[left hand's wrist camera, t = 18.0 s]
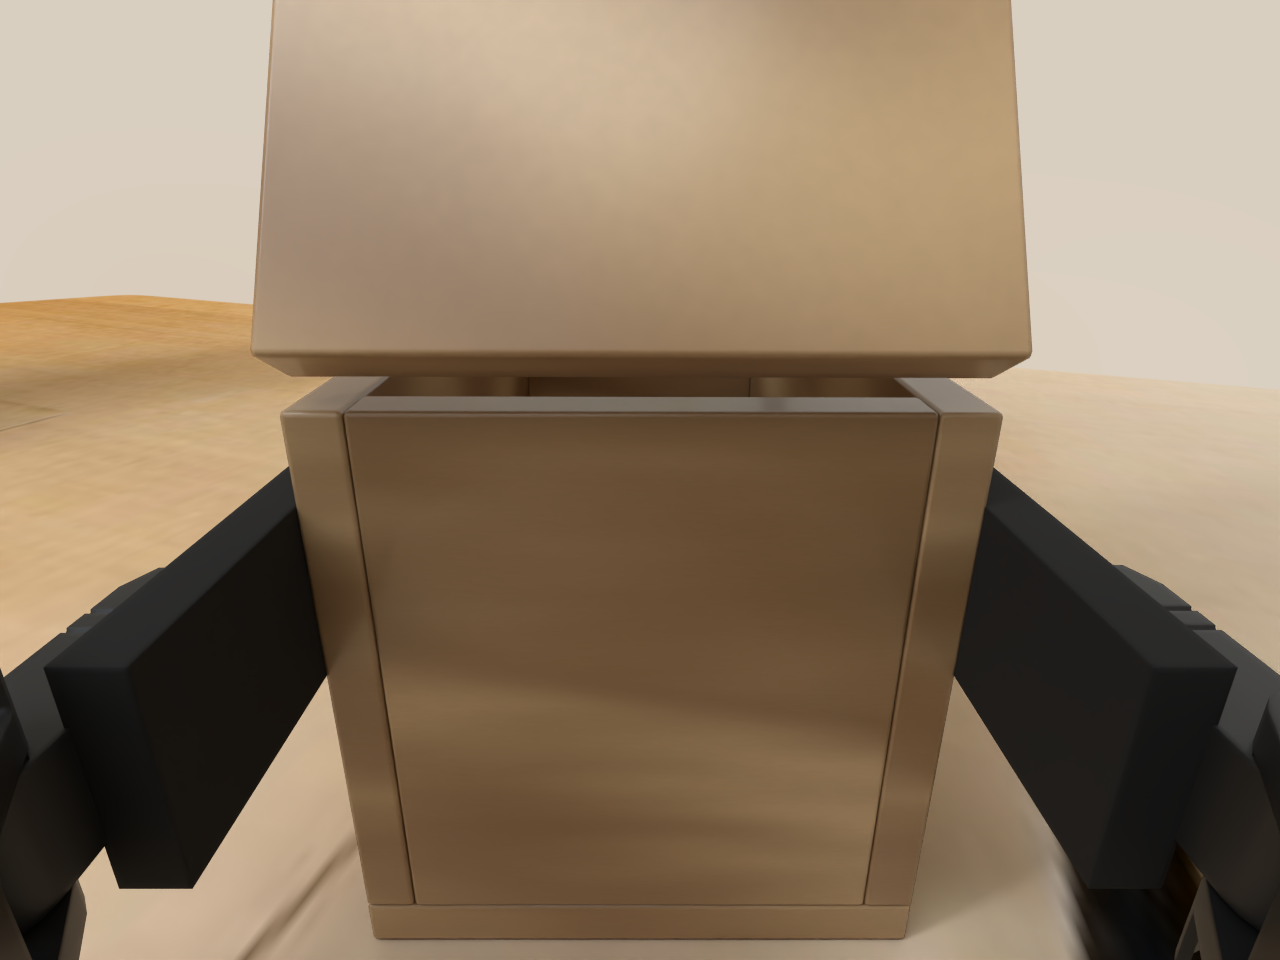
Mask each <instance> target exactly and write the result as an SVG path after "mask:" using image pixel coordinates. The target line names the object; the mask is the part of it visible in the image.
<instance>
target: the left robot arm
mask: <svg viewBox="0 0 1280 960" xmlns="http://www.w3.org/2000/svg"><path fill="white" fill-rule="evenodd" d="M326 676H327V673H326V667H325V662H324V656H323V651H322V645H321V640H320V634H319V629H318V623H317V618H316V612H315V607H314V601H313V596H312V590H311V585H310V579H309V573H308V568H307V562H306V557H305V551H304V546H303V540H302V535H301V529H300V524H299V518H298V513H297V507H296V502H295V496H294V491H293V485H292V480H291V474H290V469H289V467H287V468H286V469H285V470H284V471H282V472H281V473H280V474H279V475H278V476H276V477H275V478H274V479H273V480H271V481H270V482H269V483H268V484H267V485H265V486H264V487H263V488H262V489H260V490H259V491H258V492H257V493H256V494H254V495H253V496H252V497H251V498H249V499H248V500H247V501H246V502H245V503H243V504H242V505H241V506H240V507H238V508H237V509H236V510H235V511H234V512H232V513H231V514H230V515H229V516H227V517H226V518H225V519H224V520H223V521H221V522H220V523H219V524H218V525H216V526H215V527H214V528H213V529H212V530H210V531H209V532H208V533H207V534H205V535H204V536H203V537H202V538H201V539H199V540H198V541H197V542H196V543H195V544H193V545H192V546H191V547H190V548H188V549H187V550H186V551H185V552H184V553H182V554H181V555H180V556H179V557H177V558H176V559H175V560H174V561H173V562H171V563H170V564H169V565H168V566H166V567H165V568H157V569H155V570H153V571H151V572H149V573H147V574H145V575H143V576H141V577H139V578H137V579H135V580H133V581H130V582H128V583H126V584H124V585H122V586H120V587H119V588H117V589H116V590H115V591H113V592H112V593H111V594H110V595H108V596H107V597H106V598H105V599H103V600H102V601H101V602H99V603H98V604H97V605H96V606H94V607H93V608H92V609H91V613H90V614H84V615H83V616H82V617H80V618H79V619H78V620H76V621H75V622H74V623H73V624H71V625H70V626H69V627H68V628H67V632H66V633H60V634H59V635H57V636H56V637H55V638H53V639H52V640H51V641H50V642H48V643H47V644H46V645H45V646H43V647H42V648H41V649H39V650H38V651H37V652H36V653H34V654H33V655H32V656H31V657H29V658H28V659H27V660H25V661H24V662H23V663H22V664H20V665H19V666H18V667H17V668H15V669H14V670H13V671H11V672H10V673H9V674H8V675H6V676H5V677H3V675H2V672H1V669H0V960H79V956H80V950H81V944H82V939H83V933H84V927H85V921H86V915H87V911H86V904H85V897H84V894H83V891H82V889H81V886H80V883H79V881H78V879H79V877H80V876H81V875H82V874H83V872H84V871H85V870H86V869H87V867H88V866H89V865H90V864H91V862H92V861H93V860H94V859H95V857H96V856H97V855H98V854H99V852H100V851H101V850H102V849H103V847H104V846H105V849H106V852H107V854H108V857H109V860H110V863H111V866H112V869H113V872H114V875H115V878H116V881H117V884H118V886H119V889H193V887H194V885H195V884H196V882H197V881H198V879H199V878H200V876H201V874H202V873H203V871H204V870H205V868H206V866H207V865H208V863H209V862H210V860H211V858H212V857H213V855H214V854H215V852H216V851H217V849H218V847H219V846H220V844H221V843H222V841H223V839H224V838H225V836H226V835H227V833H228V831H229V830H230V828H231V827H232V825H233V824H234V822H235V820H236V819H237V817H238V816H239V814H240V812H241V811H242V809H243V808H244V806H245V805H246V803H247V801H248V800H249V798H250V797H251V795H252V793H253V792H254V790H255V789H256V787H257V785H258V784H259V782H260V781H261V779H262V778H263V776H264V774H265V773H266V771H267V770H268V768H269V766H270V765H271V763H272V762H273V760H274V758H275V757H276V755H277V754H278V752H279V751H280V749H281V747H282V746H283V744H284V743H285V741H286V739H287V738H288V736H289V735H290V733H291V731H292V730H293V728H294V727H295V725H296V724H297V722H298V720H299V719H300V717H301V716H302V714H303V712H304V711H305V709H306V708H307V706H308V704H309V703H310V701H311V700H312V698H313V697H314V695H315V693H316V692H317V690H318V689H319V687H320V685H321V684H322V682H323V681H324V679H325V678H326ZM954 676H955V678H956V679H957V681H958V683H959V684H960V686H961V687H962V689H963V691H964V692H965V694H966V695H967V697H968V698H969V700H970V702H971V703H972V705H973V706H974V708H975V710H976V711H977V713H978V714H979V716H980V718H981V719H982V721H983V722H984V724H985V725H986V727H987V729H988V730H989V732H990V733H991V735H992V737H993V738H994V740H995V741H996V743H997V744H998V746H999V748H1000V749H1001V751H1002V752H1003V754H1004V756H1005V757H1006V759H1007V760H1008V762H1009V764H1010V765H1011V767H1012V768H1013V770H1014V771H1015V773H1016V775H1017V776H1018V778H1019V779H1020V781H1021V783H1022V784H1023V786H1024V787H1025V789H1026V791H1027V792H1028V794H1029V795H1030V797H1031V798H1032V800H1033V802H1034V803H1035V805H1036V806H1037V808H1038V810H1039V811H1040V813H1041V814H1042V816H1043V817H1044V819H1045V821H1046V822H1047V824H1048V825H1049V827H1050V829H1051V830H1052V832H1053V833H1054V835H1055V837H1056V838H1057V840H1058V841H1059V843H1060V844H1061V846H1062V848H1063V849H1064V851H1065V852H1066V854H1067V856H1068V857H1069V859H1070V860H1071V862H1072V863H1073V865H1074V867H1075V868H1076V870H1077V871H1078V873H1079V875H1080V876H1081V878H1082V879H1083V881H1084V883H1085V884H1086V886H1087V887H1088V889H1162V887H1163V884H1164V881H1165V878H1166V875H1167V872H1168V869H1169V866H1170V863H1171V860H1172V858H1173V855H1174V852H1175V849H1176V846H1177V843H1178V844H1179V846H1180V847H1181V848H1182V849H1183V851H1184V852H1185V853H1186V854H1187V856H1188V857H1189V858H1190V859H1191V861H1192V862H1193V863H1194V864H1195V865H1196V867H1197V868H1198V869H1199V870H1200V872H1201V873H1202V874H1203V878H1202V881H1201V883H1200V886H1199V889H1198V891H1197V894H1196V897H1195V899H1194V902H1193V905H1192V908H1191V910H1190V913H1189V916H1188V918H1187V921H1186V924H1185V927H1184V929H1183V932H1182V935H1181V937H1180V940H1179V943H1178V946H1177V948H1176V953H1175V960H1191V958H1192V956H1193V953H1195V952H1196V951H1198V950H1200V953H1201V959H1202V960H1280V675H1279V674H1277V673H1276V672H1275V671H1274V670H1272V669H1271V668H1270V667H1268V666H1267V665H1266V664H1265V663H1263V662H1262V661H1261V660H1259V659H1258V658H1257V657H1256V656H1254V655H1253V654H1252V653H1250V652H1249V651H1248V650H1247V649H1245V648H1244V647H1243V646H1241V645H1240V644H1239V643H1238V642H1236V641H1235V640H1234V639H1232V638H1231V637H1230V636H1229V635H1227V634H1226V633H1225V632H1223V631H1222V630H1216V629H1215V625H1214V624H1213V623H1212V622H1211V621H1209V620H1208V619H1207V618H1205V617H1204V616H1203V615H1202V614H1200V613H1199V612H1198V611H1192V610H1191V606H1190V605H1189V604H1187V603H1186V602H1185V601H1184V600H1182V599H1181V598H1180V597H1178V596H1177V595H1176V594H1175V593H1173V592H1172V591H1171V590H1169V589H1168V588H1167V587H1166V586H1164V585H1163V584H1161V583H1159V582H1157V581H1155V580H1153V579H1151V578H1149V577H1146V576H1144V575H1142V574H1140V573H1138V572H1136V571H1134V570H1132V569H1130V568H1128V567H1126V566H1123V565H1112V564H1111V563H1110V562H1108V561H1107V560H1106V559H1105V558H1103V557H1102V556H1101V555H1100V554H1099V553H1097V552H1096V551H1095V550H1094V549H1092V548H1091V547H1090V546H1089V545H1088V544H1086V543H1085V542H1084V541H1083V540H1082V539H1080V538H1079V537H1078V536H1077V535H1075V534H1074V533H1073V532H1072V531H1071V530H1069V529H1068V528H1067V527H1066V526H1064V525H1063V524H1062V523H1061V522H1060V521H1058V520H1057V519H1056V518H1055V517H1053V516H1052V515H1051V514H1050V513H1049V512H1047V511H1046V510H1045V509H1044V508H1042V507H1041V506H1040V505H1039V504H1038V503H1036V502H1035V501H1034V500H1033V499H1031V498H1030V497H1029V496H1028V495H1027V494H1025V493H1024V492H1023V491H1022V490H1020V489H1019V488H1018V487H1017V486H1016V485H1014V484H1013V483H1012V482H1011V481H1009V480H1008V479H1007V478H1006V477H1005V476H1003V475H1002V474H1001V473H1000V472H998V471H997V470H996V469H995V468H994V467H993V472H992V477H991V482H990V488H989V493H988V498H987V503H986V507H985V511H984V516H983V522H982V527H981V533H980V538H979V543H978V549H977V554H976V559H975V565H974V570H973V576H972V581H971V586H970V592H969V597H968V602H967V608H966V613H965V619H964V624H963V629H962V635H961V640H960V645H959V651H958V656H957V662H956V667H955V672H954Z"/></svg>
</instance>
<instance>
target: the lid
mask: <svg viewBox="0 0 1280 960" xmlns="http://www.w3.org/2000/svg"><path fill="white" fill-rule="evenodd" d="M251 352H252V355H253V356H254V357H256V358H258V359H260V360H262V361H263V362H265V363H267V364H269V365H271V366H272V367H274V368H276V369H278V370H280V371H281V372H283V373H285V374H287V375H289V376H339V377H744V378H992V377H995V376H997V375H999V374H1001V373H1002V372H1004V371H1006V370H1008V369H1010V368H1012V367H1013V366H1015V365H1017V364H1019V363H1021V362H1023V361H1024V360H1026V359H1028V358H1030V356H1031V353H1032V341H1031V324H1030V308H1029V291H1028V275H1027V259H1026V242H1025V225H1024V209H1023V192H1022V176H1021V159H1020V143H1019V126H1018V110H1017V93H1016V77H1015V60H1014V44H1013V27H1012V11H1011V0H273V6H272V22H271V37H270V53H269V69H268V84H267V100H266V116H265V132H264V148H263V163H262V179H261V195H260V210H259V226H258V242H257V257H256V273H255V289H254V304H253V320H252V336H251Z"/></svg>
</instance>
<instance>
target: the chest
mask: <svg viewBox="0 0 1280 960" xmlns="http://www.w3.org/2000/svg"><path fill="white" fill-rule="evenodd" d="M280 419H281V424H282V430H283V435H284V441H285V446H286V452H287V458H288V463H289V469H290V474H291V480H292V485H293V491H294V496H295V502H296V507H297V513H298V518H299V524H300V529H301V535H302V540H303V546H304V551H305V557H306V562H307V568H308V573H309V579H310V585H311V590H312V596H313V601H314V607H315V612H316V618H317V623H318V629H319V634H320V640H321V645H322V651H323V656H324V662H325V667H326V673H327V678H328V684H329V689H330V695H331V700H332V706H333V711H334V717H335V723H336V728H337V734H338V739H339V745H340V750H341V756H342V761H343V767H344V772H345V778H346V783H347V789H348V794H349V800H350V805H351V811H352V816H353V822H354V827H355V833H356V838H357V844H358V850H359V855H360V861H361V866H362V872H363V877H364V883H365V888H366V894H367V899H368V903H369V912H370V917H371V923H372V928H373V934H374V937H375V938H604V939H901V938H903V937H904V936H905V931H906V925H907V920H908V915H909V910H910V904H911V900H912V895H913V890H914V884H915V879H916V874H917V868H918V863H919V858H920V853H921V847H922V842H923V837H924V831H925V826H926V821H927V816H928V810H929V805H930V800H931V794H932V789H933V784H934V779H935V773H936V768H937V763H938V757H939V752H940V747H941V741H942V736H943V731H944V726H945V720H946V715H947V710H948V704H949V699H950V694H951V689H952V683H953V678H954V672H955V667H956V662H957V656H958V651H959V645H960V640H961V635H962V629H963V624H964V619H965V613H966V608H967V602H968V597H969V592H970V586H971V581H972V576H973V570H974V565H975V559H976V554H977V549H978V543H979V538H980V533H981V527H982V522H983V516H984V511H985V507H986V503H987V498H988V493H989V488H990V482H991V477H992V472H993V466H994V461H995V456H996V451H997V445H998V440H999V435H1000V429H1001V424H1002V419H1003V417H1002V413H1000V412H998V411H997V410H995V409H994V408H992V407H991V406H989V405H988V404H986V403H985V402H983V401H982V400H980V399H979V398H977V397H976V396H974V395H973V394H971V393H970V392H968V391H967V390H965V389H964V388H962V387H961V386H959V385H958V384H956V383H955V382H953V381H952V380H950V379H949V378H744V377H339V376H335V377H333V378H332V379H330V380H329V381H327V382H326V383H324V384H323V385H321V386H320V387H318V388H317V389H315V390H314V391H312V392H311V393H309V394H308V395H306V396H305V397H303V398H302V399H300V400H299V401H297V402H296V403H294V404H293V405H291V406H290V407H288V408H287V409H285V410H284V411H282V412H281V416H280Z"/></svg>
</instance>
